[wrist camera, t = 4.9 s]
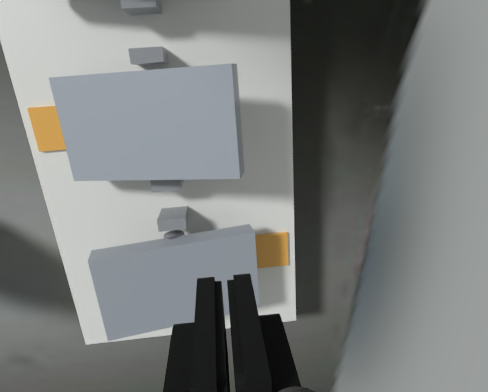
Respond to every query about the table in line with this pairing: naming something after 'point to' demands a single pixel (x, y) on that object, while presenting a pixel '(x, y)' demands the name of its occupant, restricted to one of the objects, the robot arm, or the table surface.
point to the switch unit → (160, 191)
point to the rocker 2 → (167, 277)
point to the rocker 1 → (152, 124)
